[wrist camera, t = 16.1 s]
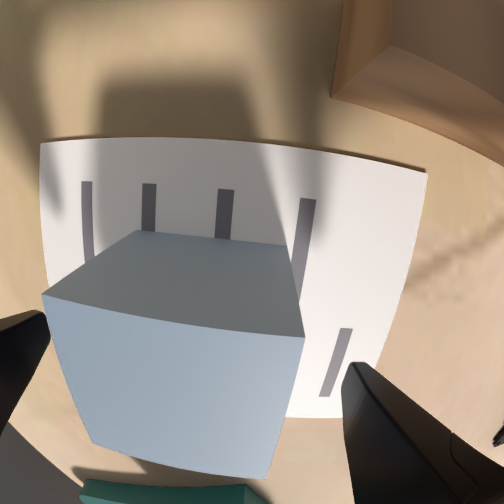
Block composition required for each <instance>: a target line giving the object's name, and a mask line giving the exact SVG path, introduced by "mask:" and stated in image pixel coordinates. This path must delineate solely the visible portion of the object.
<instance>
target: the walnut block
mask: <svg viewBox="0 0 504 504" xmlns="http://www.w3.org/2000/svg"><path fill="white" fill-rule="evenodd" d="M330 98H334V99H338V100H342V101H345V102H349V103H353V104H356V105H359V106H363V107H366V108H369V109H373V110H376V111H379V112H382V113H385V114H388V115H391V116H394V117H396V118H399V119H402V120H405V121H407V122H410V123H413V124H415V125H418V126H420V127H423V128H425V129H428V130H430V131H432V132H435V133H437V134H439V135H442V136H444V137H446V138H449V139H451V140H453V141H455V142H457V143H459V144H461V145H463V146H466V147H468V148H470V149H472V150H474V151H476V152H477V153H479V154H481V155H483V156H485V157H487V158H489V159H491V160H492V161H494V162H496V163H498V164H500V165H501V166H503V167H504V0H343V9H342V18H341V26H340V34H339V42H338V49H337V56H336V63H335V70H334V77H333V83H332V90H331V96H330Z"/></svg>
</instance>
